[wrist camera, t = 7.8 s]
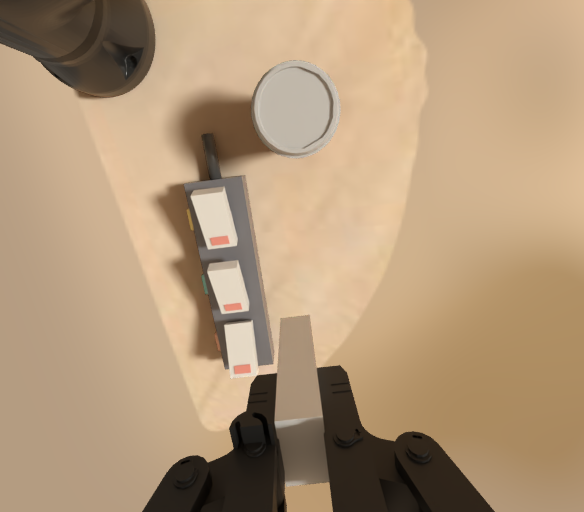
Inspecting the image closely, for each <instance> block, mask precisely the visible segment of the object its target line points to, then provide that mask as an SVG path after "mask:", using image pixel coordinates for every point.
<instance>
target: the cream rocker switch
mask: <svg viewBox="0 0 584 512" xmlns="http://www.w3.org/2000/svg"><path fill="white" fill-rule="evenodd" d="M224 327H225V336H226V345H227V353H228V362H229V370H230V379H231V378H240V377H249V376H257V374H258V372H259V370H258V361H257V353H256V344H255V336H254V328H253V320H246V321H237V322H229V323H226V324H225V325H224Z"/></svg>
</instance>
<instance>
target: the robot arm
mask: <svg viewBox="0 0 584 512" xmlns="http://www.w3.org/2000/svg"><path fill="white" fill-rule="evenodd" d="M0 43H1V44H4V45H6V46H8V47H11V48H14V49H16V50H18V51H21V52H23V53H26V54H28V55H31V56H33V57H34V58H35V59H36V60H37V61H39V62H41V64H42V65H43V66H44V67H45V68H46V69H47V70H48V71H49V72H50V73H51V74H52V75H53V76H55V77H56V78H57V79H58V80H60V81H61V82H63V83H64V84H66V85H68V86H69V87H71V88H73V89H76V90H78V91H81V92H84V93H87V94H90V95H93V96H98V97H114V96H119V95H122V94H125V93H127V92H129V91H130V90H132V89H133V88H135V87H136V86H137V85H138V84H139V83H140V82H141V81H142V80H143V79H144V77H145V76H146V74H147V73H148V71H149V69H150V66H151V64H152V61H153V57H154V51H155V30H154V24H153V20H152V17H151V14H150V11H149V8H148V6H147V4H146V2H145V0H0ZM229 430H230V434H231V438H232V442H233V447H234V449H233V450H232V451H231V452H229V453H228V454H227V455H225V456H223V457H221V458H218V459H216V460H214V461H211V462H209V463H207V461H206V460H205V459H204V458H203V457H200V456H198V455H197V456H188V457H186V458H183V459H181V460H179V461H178V462H177V463H175V464H174V465H173V466H172V467H171V468H170V469H169V471H168V472H167V473H166V475H165V477H164V478H163V479H162V481H161V483H160V484H159V486H158V487H157V489H156V491H155V492H154V494H153V496H152V497H151V499H150V500H149V502H148V503H147V505H146V507H145V508H144V510H143V511H142V512H287V507H286V506H287V505H286V499H285V494H284V491H285V483H286V486H296V485H306V484H316V483H326V482H330V490H331V498H332V506H333V512H495V511H494V510H493V509H492V508H491V507H490V505H489V504H488V503H487V502H486V501H485V499H484V498H483V497H482V496H481V495H480V493H479V492H478V491H477V490H476V489H475V488H474V486H473V485H472V484H471V483H470V482H469V480H468V479H467V478H466V477H465V475H464V474H463V473H462V472H461V471H460V469H459V468H458V467H457V466H456V465H455V463H454V462H453V461H452V460H451V459H450V457H449V456H448V455H447V454H446V453H445V451H444V450H443V449H442V448H441V447H440V446H439V444H438V443H437V442H435V441H434V440H433V439H432V438H431V437H429V436H427V435H425V434H423V433H419V432H405V433H403V434H401V435H400V436H399V437H398V438H397V439H396V441H395V442H394V441H390V440H384V439H380V438H377V437H375V436H373V435H371V434H370V433H368V432H367V431H366V430H365V429H364V427H363V426H362V424H361V422H360V419H359V415H358V412H357V408H356V404H355V401H354V397H353V393H352V390H351V386H350V382H349V379H348V375H347V372H345V371H344V369H343V368H342V367H341V366H340V365H339V366H330V367H321V368H316V360H315V353H314V345H313V337H312V330H311V322H310V315H305V316H297V317H288V318H281V320H280V337H279V353H278V370H277V373H275V374H266V375H257V377H256V378H255V379H254V381H253V382H252V384H251V387H250V393H249V399H248V404H247V410H246V411H245V412H244V413H242V414H240V415H238V416H237V417H236V418H235V419H234V420H233V421H232V423H231V426H230V428H229Z"/></svg>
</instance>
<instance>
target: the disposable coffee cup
mask: <svg viewBox="0 0 584 512" xmlns="http://www.w3.org/2000/svg"><path fill="white" fill-rule="evenodd" d="M251 117H252V121H253V125H254V128H255V130H256V133H257V135H258V137H259V138H260V139H261V141H262V142H263V143H264V144H265V145H266V146H267V147H268V148H269V149H270V150H271V151H273V152H275V153H277V154H278V155H281V156H284V157H288V158H303V157H307V156H310V155H313V154H315V153H317V152H318V151H320V150H321V149H322V148H323V147H325V146H326V145H327V144H328V143H329V141H330V140H331V138H332V137H333V135H334V133H335V131H336V129H337V126H338V123H339V118H340V99H339V96H338V92H337V89H336V87H335V85H334V83H333V82H332V80H331V79H330V77H329V76H328V75H327V74H326V73H325V72H324V71H323V70H322V69H320V68H319V67H317V66H316V65H313V64H311V63H309V62H305V61H297V60H293V61H287V62H283V63H280V64H278V65H276V66H274V67H273V68H271V69H270V70H269V71H268V72H267V73H265V74H264V75H263V77H262V78H261V80H260V81H259V82H258V84H257V86H256V88H255V91H254V94H253V97H252V103H251Z"/></svg>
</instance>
